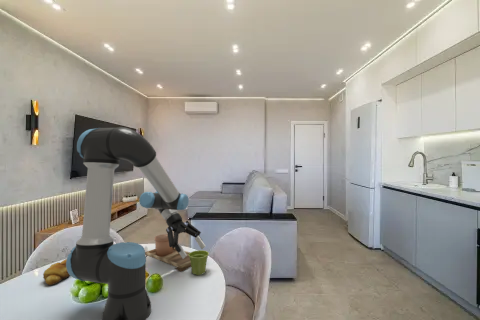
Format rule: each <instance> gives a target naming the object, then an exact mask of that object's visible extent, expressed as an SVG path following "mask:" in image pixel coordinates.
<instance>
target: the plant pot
mask: <svg viewBox="0 0 480 320" xmlns="http://www.w3.org/2000/svg"><path fill="white" fill-rule="evenodd" d="M209 255H210V253H209V251H207V250H203V249H200V250H193V251H190V253H189V254H188V256H189V258H190V261H191V267H190V268H191V273H192V274H193V275H197V276H200V275H203V274H204V273H206V269H207V261H208V257H209Z"/></svg>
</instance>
